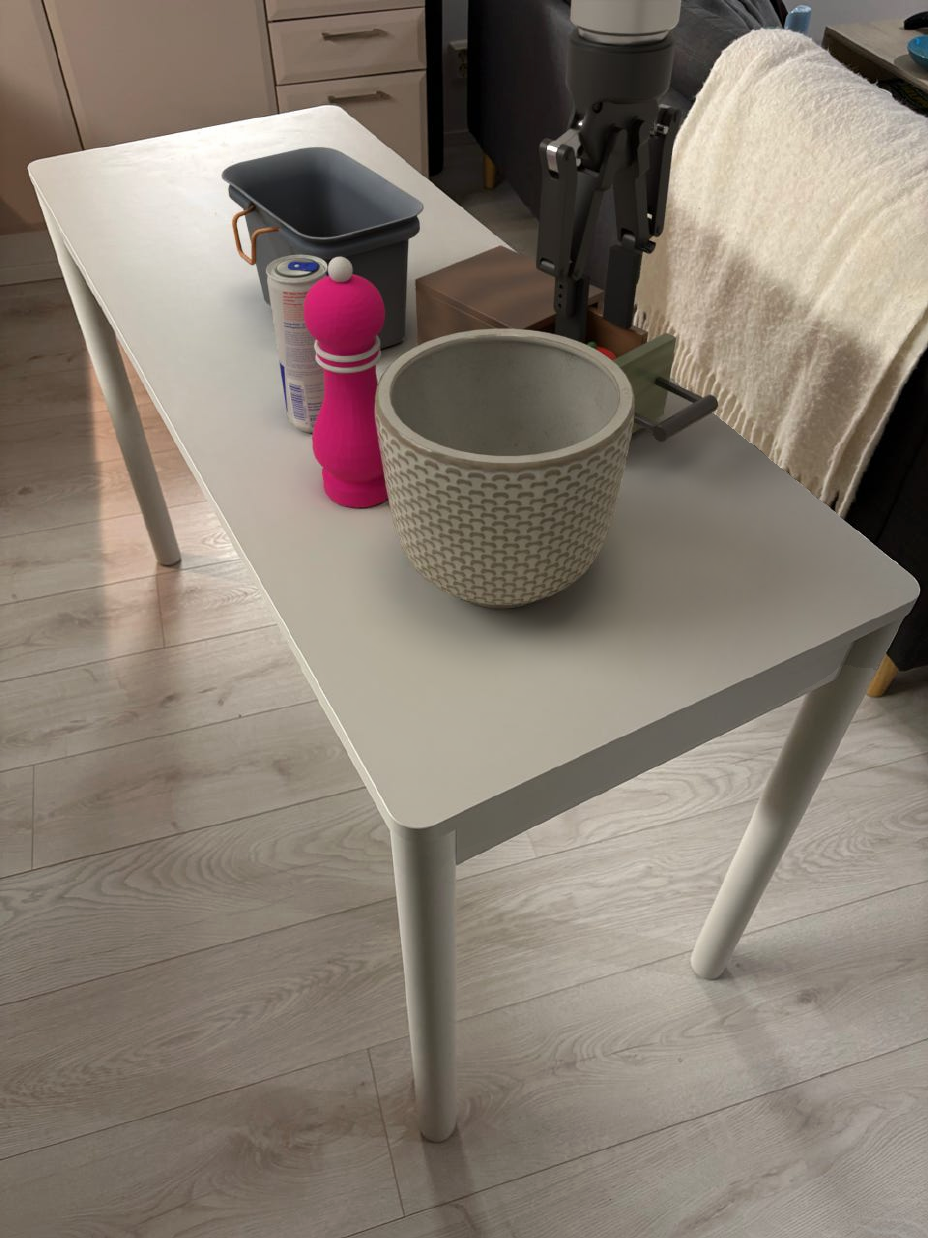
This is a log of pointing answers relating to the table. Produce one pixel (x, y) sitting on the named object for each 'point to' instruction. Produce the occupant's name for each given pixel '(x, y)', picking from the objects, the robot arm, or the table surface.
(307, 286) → the beverage can
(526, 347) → the planter
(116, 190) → the table surface
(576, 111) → the robot arm
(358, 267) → the storage bin
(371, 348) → the pepper mill
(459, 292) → the cabinet
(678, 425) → the drawer
